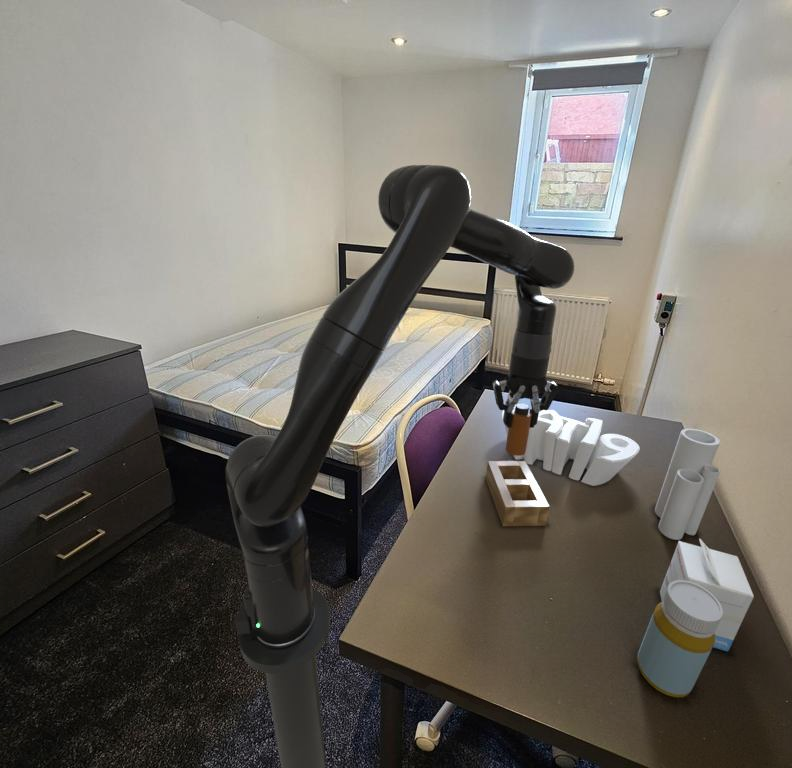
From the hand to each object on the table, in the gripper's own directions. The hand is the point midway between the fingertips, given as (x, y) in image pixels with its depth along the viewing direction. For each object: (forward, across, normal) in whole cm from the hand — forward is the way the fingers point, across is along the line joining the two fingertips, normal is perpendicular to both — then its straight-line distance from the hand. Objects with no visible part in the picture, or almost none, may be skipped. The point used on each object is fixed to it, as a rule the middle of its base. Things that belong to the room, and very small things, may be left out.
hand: (519, 425), depth 89 cm
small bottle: (+6, 0, 0) cm, 6 cm away
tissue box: (+17, -21, +34) cm, 43 cm away
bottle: (+17, -11, +42) cm, 46 cm away
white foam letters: (+17, -17, -13) cm, 28 cm away
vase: (+17, -33, +12) cm, 39 cm away
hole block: (+17, 0, +4) cm, 18 cm away
